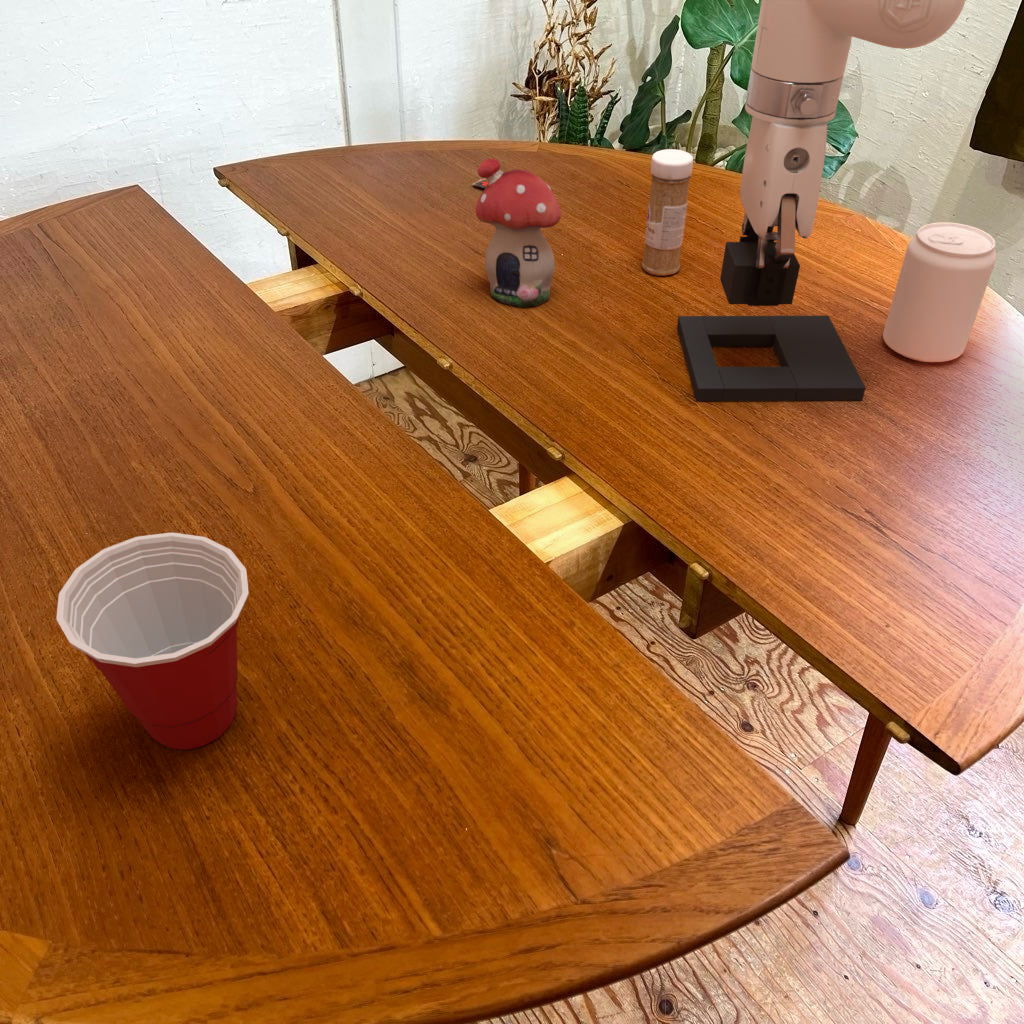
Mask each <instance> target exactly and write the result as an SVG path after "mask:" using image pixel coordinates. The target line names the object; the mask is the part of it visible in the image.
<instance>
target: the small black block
mask: <svg viewBox="0 0 1024 1024" xmlns="http://www.w3.org/2000/svg"><path fill="white" fill-rule="evenodd" d="M776 243H777V241H774V242H767V248H766V252H767V251H768V250H769V248H770V247H775V245H776ZM757 248H758V242H739V241H726V242H725V247H724V252H723V259H722V266H721V273H720V278H719V279H720V280H719V281H720V283H721V285H722V289H723V291H724V294H725V297H726V300H727V302H728V304H729V305H747V303H746V294H747V289H748V283H749V278H750V272H751V266H752V264H756V258H757ZM800 269H801V265H800V263H799V261H798V258H797V257H796V255H795V254H794V255H793V256H792V257H791V258H790V261H789V267H788V269H787V274H786V279H785V284H784V288H783V293H782V298H781V303H780V304H779V305H792V304H793V301H794V296H795V293H796V287H797V283H798V278H799V272H800Z"/></svg>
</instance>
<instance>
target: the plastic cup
mask: <svg viewBox="0 0 1024 1024" xmlns="http://www.w3.org/2000/svg"><path fill="white" fill-rule="evenodd" d="M249 593H250V592H249V582H248V574H247V568H246V567H245V565H244V564H243V563H242V562H241V560H239V558H238V557H237V556H236V554H235V553H234V552H233V550H231V548H229V547H226V546H224V545H222V544H220V543H218V542H217V541H214V540H212V539H210V538H208V537H206V536H203V535H202V536H201V535H193V534H186V533H179V532H164V533H155V534H147V535H139V536H138V535H137V536H135V537H132V538H129V539H127V540H124V541H121V542H118V543H116V544H113V545H111V546H108V547H105V548H103V549H101V550H100V551H99V552H97V553H95V554H94V555H93V556H91V557H90V558H89V559H87V560H86V561H84V562H83V563H81V564H80V565H79V566H78V567H76V568H75V569H74V571H73V572H72V573H71V575H70V577H69V578H68V580H67V581H66V583H65V584H64V585H63V586H62V588H61V590H60V591H59V592H58V599H57V610H56V622H57V623H58V625H59V626H60V629H61V630H62V632H63V633H64V636H65V637H66V640H68V643H69V644H70V645H71V646H72V647H73V648H74V649H76V650H78V651H80V652H81V653H83V654H85V655H86V657H87V659H88V660H90V661H92V663H93V665H94V666H95V668H96V669H97V670H98V671H100V672H101V674H102V675H103V676H104V677H105V679H106V680H107V681H108V683H109V684H110V686H111V687H112V688H113V690H114V691H115V692H116V694H117V695H118V697H119V698H120V699H121V701H122V702H123V703H124V704H125V707H126V708H127V709H128V710H129V711H130V713H131V714H132V716H133V717H134V718H136V719H137V720H138V721H139V722H140V723H141V726H143V728H144V729H145V731H146V732H147V733H148V735H149V736H150V737H151V738H152V739H154V740H155V741H156V742H157V743H159V744H160V745H162V746H164V747H166V748H167V749H173V750H182V751H187V750H188V751H189V750H192V749H197V748H201V747H204V746H206V745H209V743H212V742H213V741H215V740H217V739H219V738H220V737H221V736H223V734H224V733H225V732H226V731H227V730H228V729H229V728H230V727H231V726H232V723H233V721H234V718H235V716H236V713H237V707H238V693H237V689H238V688H237V681H238V678H239V677H238V626H239V617H240V616H241V613H242V611H243V608H244V606H245V604H246V602H247V599H248V598H249Z"/></svg>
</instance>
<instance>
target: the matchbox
mask: <svg viewBox="0 0 1024 1024" xmlns="http://www.w3.org/2000/svg"><path fill="white" fill-rule="evenodd" d="M487 184H488V181H487V179H486V178H483V179H478V181H476V182H473V183H472V184H471V185H470V187H473V186H477V187H480V188H484V189H485V188H486V186H487Z"/></svg>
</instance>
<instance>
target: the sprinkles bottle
mask: <svg viewBox="0 0 1024 1024" xmlns="http://www.w3.org/2000/svg"><path fill="white" fill-rule="evenodd" d="M693 167H694V156H693V155H692V154H691V153H689V152H688V151H685V150H682V149H675V148H674V149H673V148H668V149H660V150H658V151H656V152H654V153H653V154H652V156H651V161H650V175H651V181H650V191H649V200H648V206H647V207H648V208H647V217H646V227H645V235H644V242H645V243H644V249H643V260H642V262H641V267H642V269H643V270H644V271H645V273H648V274H649V275H653V276H659V277H660V276H671V275H675V274H677V273H678V272H679V271H680V268H681V264H680V260H681V253H682V245H683V241H684V233H685V226H686V218H687V209H688V198H689V197H688V196H689V188H690V180H691V178H692V174H693Z"/></svg>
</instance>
